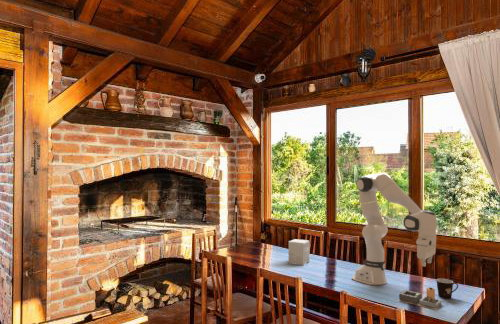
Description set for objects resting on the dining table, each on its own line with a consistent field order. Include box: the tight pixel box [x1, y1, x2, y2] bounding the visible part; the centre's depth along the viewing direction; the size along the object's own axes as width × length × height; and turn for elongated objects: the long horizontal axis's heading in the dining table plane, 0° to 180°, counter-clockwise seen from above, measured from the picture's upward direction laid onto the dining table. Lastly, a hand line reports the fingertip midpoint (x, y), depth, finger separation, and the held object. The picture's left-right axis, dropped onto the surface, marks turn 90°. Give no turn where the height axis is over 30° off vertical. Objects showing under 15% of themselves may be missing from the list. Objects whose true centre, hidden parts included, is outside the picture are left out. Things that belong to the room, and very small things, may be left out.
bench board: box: [397, 299, 443, 311], centre depth 198 cm, size 20×11×1 cm, turn 47°
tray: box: [419, 296, 442, 310], centre depth 194 cm, size 9×9×2 cm
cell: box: [426, 287, 436, 303], centre depth 194 cm, size 4×4×9 cm
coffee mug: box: [435, 278, 459, 300], centre depth 207 cm, size 12×9×10 cm
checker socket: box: [398, 289, 423, 305], centre depth 201 cm, size 9×9×4 cm
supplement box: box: [288, 238, 310, 266], centre depth 288 cm, size 13×13×18 cm
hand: (426, 264), depth 199 cm, fingers open, 8 cm apart
